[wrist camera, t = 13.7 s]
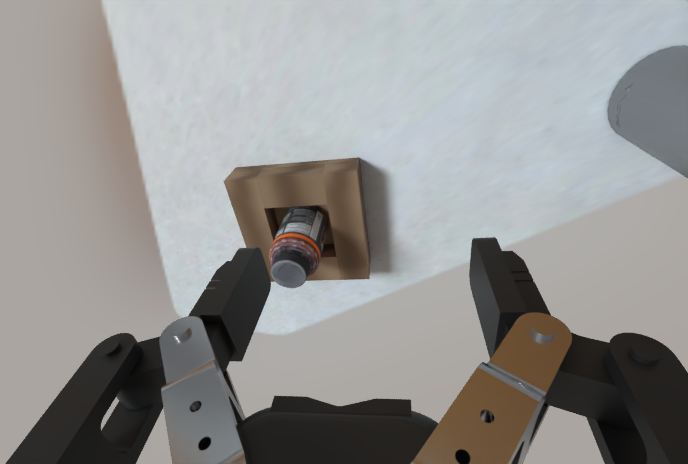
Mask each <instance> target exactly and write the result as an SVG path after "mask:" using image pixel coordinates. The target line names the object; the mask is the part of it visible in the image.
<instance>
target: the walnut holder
mask: <svg viewBox="0 0 688 464" xmlns="http://www.w3.org/2000/svg"><path fill="white" fill-rule="evenodd" d="M224 184H225V186H226V189H227V192H228V195H229V198H230V201H231V204H232V207H233V210H234V212H235V215H236V218H237V221H238V224H239V227H240V230H241V233H242V236H243V238H244V241H245V244H246V247H247V248H256V247H258V248H260V249H261V251H262V254H263V257H264V260H265V263H266V267H267V270H268V273H269V276H270V281H271V282H273V281H274V279H273V278H272V276H271V267H272V265H271V263H270V260H269V251H270V248H271V245H272V243H273V241H274V239H275V237H276V234H277V232H278V230H279V228H280V226H281V224H282V221H283V219H284V217H285V215H286V213H287V212H288V210H289V209H290V208H291V207H295V206H312V205H315V206H317V207H318V208H320V209H321V210H322V211H323V212H324V213H325V215H326V216H327V220H328V231H327V235H326V238H325V242H324V246H323V250H322V255H321V258H320V262H319V266H318V268H317V270H316V271H315V272H314V273H313V274H312V275H311V276H309V277H307V278H306V281H310V280H348V279H369V275H370V252H369V243H368V234H367V225H366V215H365V206H364V197H363V188H362V178H361V169H360V160H359V158H349V159H337V160H324V161H312V162H299V163H287V164H275V165H262V166H250V167H237V168H235V169H234V170H233V171H232V172H231V174H230V175H229V176H228V177H227V178H226V179H225V181H224Z"/></svg>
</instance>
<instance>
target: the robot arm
mask: <svg viewBox="0 0 688 464" xmlns="http://www.w3.org/2000/svg"><path fill="white" fill-rule="evenodd" d="M608 120H609V122H610V125H611V127H612V128H613V130H614V131H615V132H616V133H617V134H618V135H620V136H621V137H623V138H625V139H626V140H628V141H629V142H631V143H633V144H634V145H636V146H637V147H639V148H640V149H642V150H643V151H645V152H647V153H648V154H650V155H651V156H653V157H655V158H656V159H658V160H659V161H661V162H663V163H664V164H666V165H668V166H669V167H671V168H672V169H674V170H676V171H677V172H679V173H680V174H682V175H684V176H685V177H687V178H688V46H674V47H669V48H666V49H662V50H659V51H657V52H655V53H653V54H651V55H649V56H647V57H646V58H644V59H643V60H641V61H640V62H638V63H637V64H636V65H634V66H633V67H632V68H631V69H630V70H629V71H628V72H627V73H626V74H625V75H624V76H623V78H622V79H621V80H620V81H619V83H618V84H617V86H616V87H615V89H614V91H613V93H612V96H611V98H610V101H609V106H608ZM469 276H470V286H471V290H472V294H473V298H474V301H475V305H476V308H477V312H478V316H479V320H480V323H481V327H482V331H483V334H484V338H485V341H486V345H487V349H488V353H489V356H490V361H489V362H488V363H487V364H486V363H484V362H483V363H481V364H480V365H479V366H478V367H477V368H476V370H475V371H474V373H473V374H472V376H471V377H470V379H469V380H468V382H467V383H466V384H465V386H464V387H463V389H462V390H461V392H460V393H459V395H458V396H457V398H456V399H455V400H454V402H453V404H452V405H451V406H450V408H449V409H448V411H447V412H446V414H445V415H444V417H443V418H442V420H441V421H440V422H439V424H438V423H437V422H436V421H434V420H432V419H431V418H428V417H427V416H425V415H422V414H420V413H417V412H414V411H411V400H403V399H402V400H401V399H372V400H368V401H363V402H359V403H355V404H350V405H346V406H334V405H331V404H328V403H325V402H321V401H318V400H315V399H312V398H309V397H293V396H274V399H273V402H272V406H271V407H270V408H266V409H264V410H261V411H258V412H256V413H254V414H252V415H251V416H249V417H247V418H245V416H244V414H243V411H242V408H241V406H240V403H239V400H238V397H237V394H236V392H235V389H234V386H233V384H232V381H231V378H230V375H229V373H228V371H227V366H228V364H229V362H230V361H242V359H243V357H244V355H245V352H246V349H247V347H248V345H249V342H250V340H251V337H252V335H253V332H254V330H255V327H256V325H257V322H258V320H259V317H260V315H261V312H262V310H263V307H264V305H265V302H266V300H267V297H268V295H269V292H270V287H271V281H270V276H269V273H268V270H267V267H266V263H265V260H264V257H263V254H262V251H261V249H260V248H258V247H256V248H240V249H238V251H237V252H236V254H235V256H234V257H233V259H232V261H227V262H226V263H225V264H223V265H222V266H221V267H220V268H219V269H218V270H217V271H216V272H215V274H214V276H213V277H212V279H211V281H210V282H209V284H208V285H207V287H206V289H205V290H204V292H203V293H202V295H201V296H200V298H199V300H198V301H197V303H196V304H195V306H194V308H193V309H192V311H191V313H190V314H189V316H188V317H184V318H181V319H178V320H176V321H174V322H173V323H171V325H169V326H168V327H167V328H166V329H165V330H164V331H163V332H162V334H161V336H160V337H157V338H153V339H149V340H145V341H141V342H137V341H136V339H135V338H134V336H132V335H131V334H129V333H120V334H117V335H114V336H111V337H110V338H107V339H105V340H104V341H102V342H101V343H100V344H99V345H97V346H96V347H95V348H94V349H93V351H92V352H91V353H90V354H89V356H88V357H87V358H86V360H85V361H84V362H83V363H82V365H81V366H80V367H79V369H78V370H77V371H76V372H75V374H74V375H73V377H72V378H71V379H70V380H69V382H68V383H67V384H66V386H65V387H64V388H63V389H62V391H61V392H60V393H59V395H58V396H57V397H56V399H55V400H54V401H53V402H52V404H51V405H50V406H49V408H48V409H47V410H46V412H45V413H44V414H43V415H42V417H41V418H40V420H39V421H38V422H37V423H36V425H35V426H34V427H33V428H32V430H31V431H30V432H29V434H28V435H27V436H26V438H25V439H24V440H23V442H22V443H21V444H20V445H19V447H18V448H17V449H16V451H15V452H14V453H13V455H12V456H11V457H10V458H9V460H8V461H7V462H6V464H136V462H137V460H138V458H139V455H140V454H141V451H142V449H143V447H144V445H145V443H146V441H147V439H148V437H149V435H150V433H151V431H152V429H153V427H154V425H155V423H156V421H157V419H158V417H159V415H160V413H161V411H162V409H163V407H164V413H165V419H166V426H167V431H168V438H169V445H170V451H171V457H172V463H173V464H523V462H524V459H525V457H526V455H527V453H528V450H529V448H530V446H531V444H532V442H533V440H534V438H535V436H536V434H537V431H538V429H539V427H540V425H541V423H542V421H543V419H544V417H545V415H546V412H547V410H548V408H549V406H554V407H557V408H560V409H563V410H566V411H569V412H573V413H576V414H579V415H582V416H585V417H587V420H588V422H589V425H590V427H591V430H592V432H593V435H594V437H595V440H596V443H597V445H598V448H599V450H600V453H601V455H602V458H603V460H604V463H605V464H688V373H687V371H686V370H685V368H684V367H683V366H682V364H681V363H680V361H679V360H678V358H677V357H676V356H675V354H674V353H673V352H672V351H671V350H670V349H669V348H667V347H666V346H665V345H663V344H662V343H660V342H659V341H657V340H655V339H653V338H650V337H647V336H644V335H641V334H636V333H621V334H618V335H615V336H614V337H613V338H612V339H611V340H610V343H607V342H603V341H599V340H594V339H590V338H586V337H582V336H578V335H576V334H573V333H571V332H570V330H569V329H568V327H567V326H566V325H565V324H564V323H563V322H561V321H560V320H559V319H557V318H555V317H553V316H551V314H550V312H549V311H548V309H547V306H546V304H545V302H544V300H543V298H542V296H541V294H540V292H539V291H538V288H537V286H536V284H535V282H533V278H532V276H531V274H530V273H529V270H528V268H527V266H526V264H525V262H524V260H522V258H520V257H519V256H518V255H517V254H515V253H514V252H513V251H502V250H501V248H500V246H499V243H498V241H497V239H496V238H495V237H493V238H473V240H472V247H471V259H470V274H469ZM115 397H117V398H118V399H119V402H118V404H117V406H116V407H115V409H114V411H113V412H112V414H111V416H110V417H109V419H108V421H107V422H106V424H105V426H104V427H103V429H102V431H101V422H102V419H103V417H104V415H105V414H106V412H107V410H108V409H109V407H110V406H111V404H112V402H113V401H114V399H115Z"/></svg>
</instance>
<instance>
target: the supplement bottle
mask: <svg viewBox="0 0 688 464" xmlns="http://www.w3.org/2000/svg"><path fill="white" fill-rule="evenodd" d="M327 231H328V220H327V216H326V215H325V213H324V212H323V211H322V210H321V209H320V208H318V207H317V206H315V205H312V206H295V207H291V208H290V209H289V210H288V212H287V213H286V215H285V217H284V219H283V221H282V224H281V226H280V228H279V230H278V232H277V234H276V237H275V239H274V241H273V243H272V245H271V248H270V251H269V260H270V263H271V265H272V267H271V276H272V278H273V279H274V281H275V282H276V283H278V284H279V285H281V286H283V287H287V288H297V287H299V286H301V285H302V284H304V282H305V281H306V278H307V277H309V276H311V275H312V274H313V273H314V272H315V271H316V270H317V268H318V266H319V262H320V258H321V255H322V250H323V246H324V242H325V238H326V235H327Z"/></svg>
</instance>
